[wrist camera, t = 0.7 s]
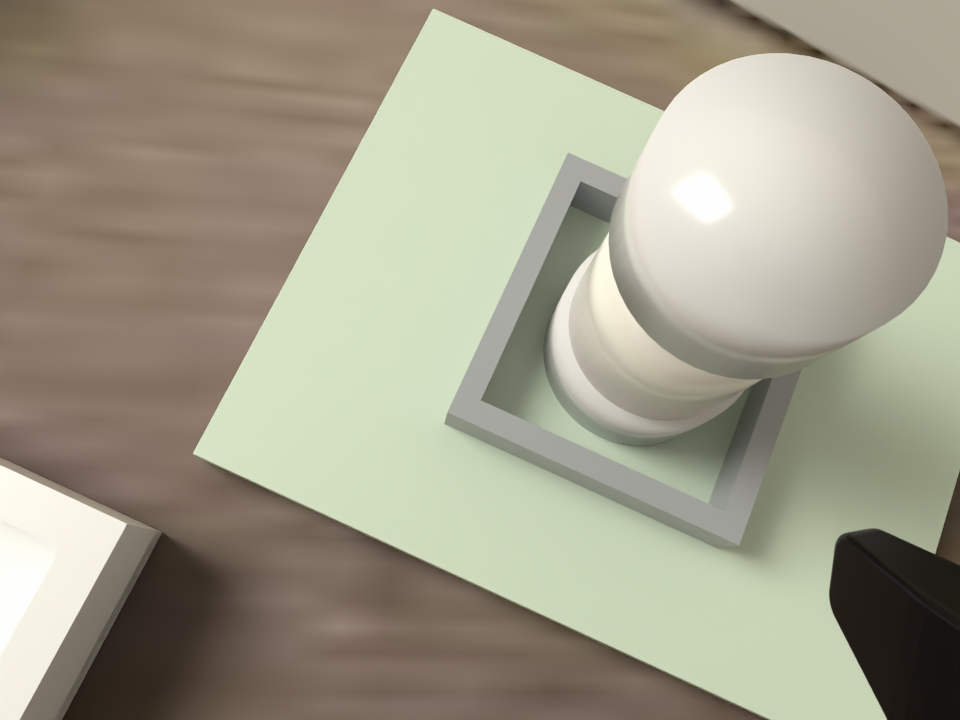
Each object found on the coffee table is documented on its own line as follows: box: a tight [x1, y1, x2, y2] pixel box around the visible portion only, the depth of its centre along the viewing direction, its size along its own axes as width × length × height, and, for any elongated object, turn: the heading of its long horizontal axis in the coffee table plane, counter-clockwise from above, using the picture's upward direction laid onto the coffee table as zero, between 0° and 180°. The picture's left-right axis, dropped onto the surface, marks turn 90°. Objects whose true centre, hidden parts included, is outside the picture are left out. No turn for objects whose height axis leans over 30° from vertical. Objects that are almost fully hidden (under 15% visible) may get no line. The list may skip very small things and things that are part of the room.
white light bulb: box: [543, 53, 948, 446], centre depth 19 cm, size 5×5×10 cm
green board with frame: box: [193, 9, 960, 720], centre depth 23 cm, size 18×14×2 cm
